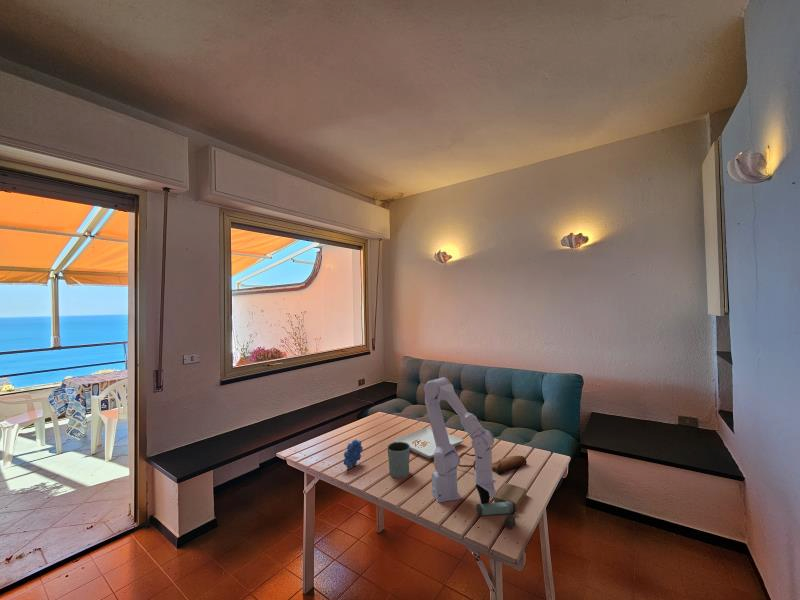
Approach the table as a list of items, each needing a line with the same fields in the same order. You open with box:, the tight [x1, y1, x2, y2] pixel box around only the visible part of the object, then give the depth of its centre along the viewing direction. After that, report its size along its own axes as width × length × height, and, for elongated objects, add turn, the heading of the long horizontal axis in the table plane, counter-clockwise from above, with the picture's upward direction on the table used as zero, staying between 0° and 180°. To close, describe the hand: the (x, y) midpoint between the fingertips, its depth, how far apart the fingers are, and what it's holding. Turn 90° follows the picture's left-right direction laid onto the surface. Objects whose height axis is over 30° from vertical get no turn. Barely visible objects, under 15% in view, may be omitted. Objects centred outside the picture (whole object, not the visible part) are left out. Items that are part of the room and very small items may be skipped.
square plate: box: [393, 427, 465, 459], centre depth 170 cm, size 27×27×4 cm
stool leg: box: [475, 501, 514, 517], centre depth 111 cm, size 12×3×3 cm, turn 94°
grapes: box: [343, 438, 363, 469], centre depth 149 cm, size 12×7×12 cm, turn 143°
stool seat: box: [493, 482, 527, 531], centre depth 114 cm, size 10×23×3 cm, turn 143°
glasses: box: [457, 452, 476, 470], centre depth 147 cm, size 13×13×5 cm
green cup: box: [386, 441, 411, 479], centre depth 141 cm, size 10×10×12 cm
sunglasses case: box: [492, 455, 527, 475], centre depth 144 cm, size 18×7×7 cm, turn 121°
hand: (485, 506), depth 112 cm, fingers closed, pressing on stool leg
